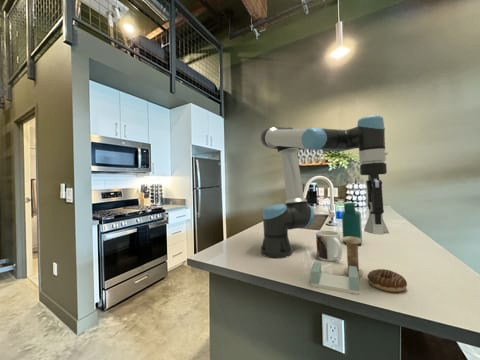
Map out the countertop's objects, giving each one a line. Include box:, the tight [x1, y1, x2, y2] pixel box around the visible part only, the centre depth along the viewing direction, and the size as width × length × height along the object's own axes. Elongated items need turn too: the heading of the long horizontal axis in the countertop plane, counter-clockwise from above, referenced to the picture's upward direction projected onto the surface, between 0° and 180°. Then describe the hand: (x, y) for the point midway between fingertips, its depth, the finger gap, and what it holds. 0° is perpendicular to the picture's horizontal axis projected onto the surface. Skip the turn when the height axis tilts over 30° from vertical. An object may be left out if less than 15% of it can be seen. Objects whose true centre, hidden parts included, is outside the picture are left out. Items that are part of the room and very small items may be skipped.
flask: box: [363, 202, 390, 235], centre depth 71 cm, size 7×7×10 cm
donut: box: [367, 268, 408, 293], centre depth 69 cm, size 11×11×4 cm
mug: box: [315, 229, 343, 262], centre depth 94 cm, size 10×12×11 cm
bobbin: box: [342, 236, 364, 278], centre depth 78 cm, size 6×6×13 cm
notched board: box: [310, 261, 360, 295], centre depth 71 cm, size 14×9×5 cm, turn 64°
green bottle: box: [341, 202, 363, 246], centre depth 113 cm, size 10×8×22 cm
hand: (376, 231), depth 70 cm, fingers closed on flask, 7 cm apart
